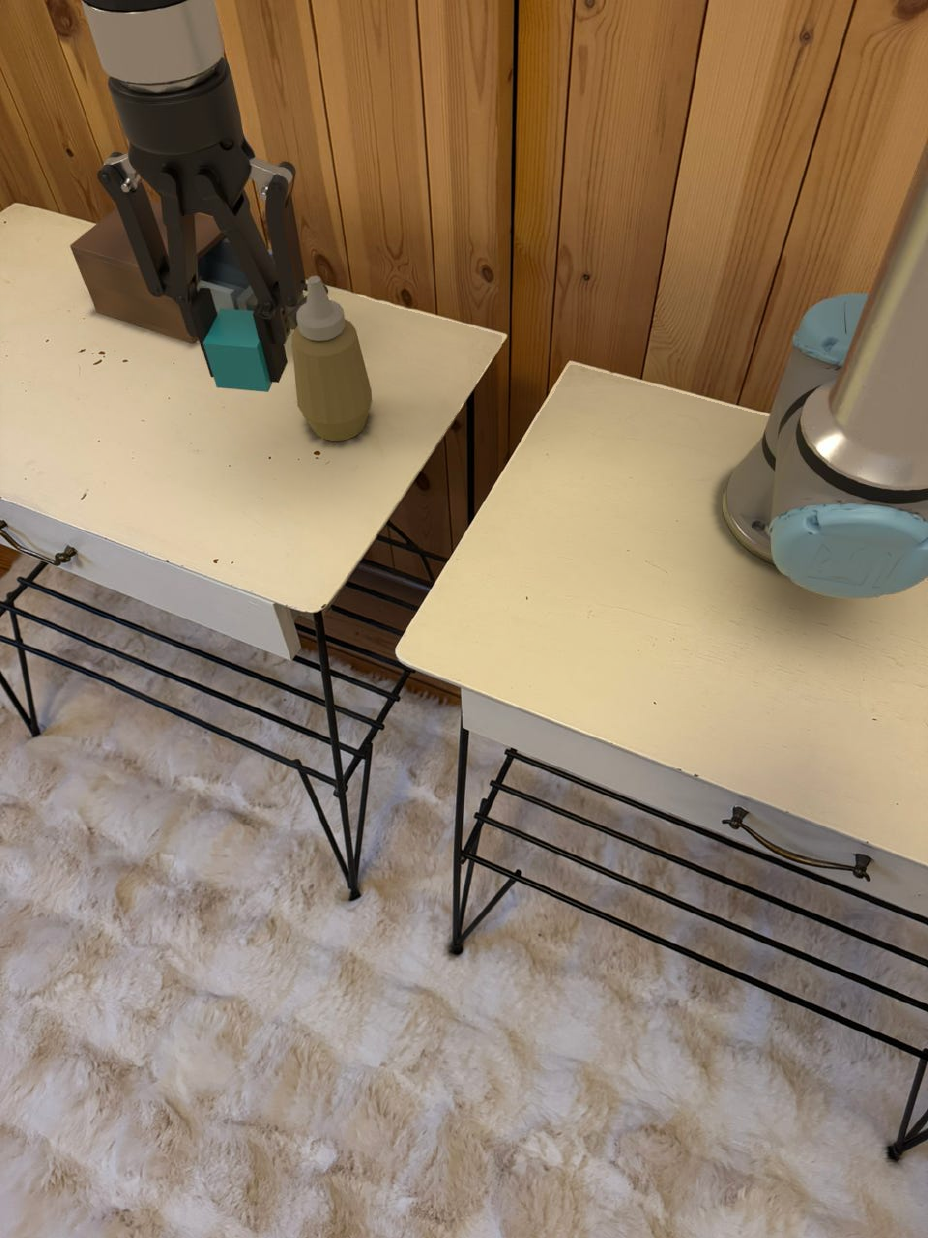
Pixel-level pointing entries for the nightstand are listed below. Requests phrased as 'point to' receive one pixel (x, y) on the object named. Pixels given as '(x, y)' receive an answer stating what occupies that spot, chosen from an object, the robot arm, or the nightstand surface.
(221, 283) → the grey drawer
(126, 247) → the drawer cabinet
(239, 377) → the teal rectangular block
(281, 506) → the nightstand surface
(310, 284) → the squeeze bottle
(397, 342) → the nightstand surface
